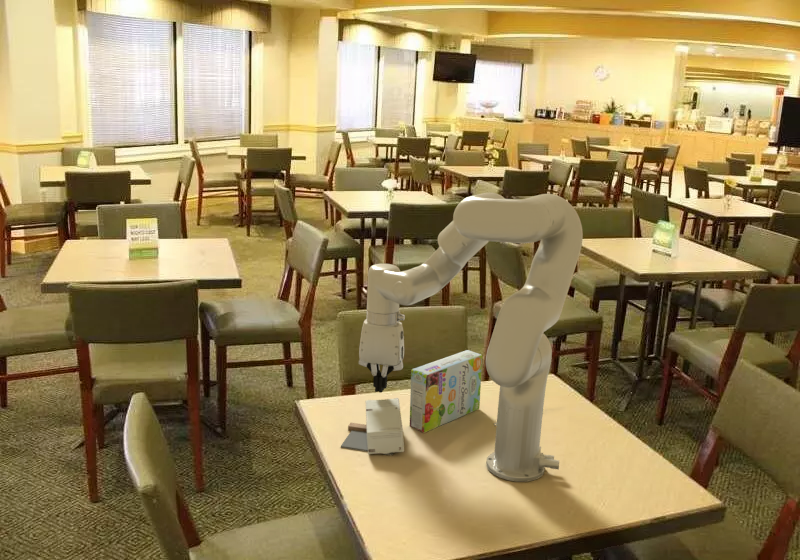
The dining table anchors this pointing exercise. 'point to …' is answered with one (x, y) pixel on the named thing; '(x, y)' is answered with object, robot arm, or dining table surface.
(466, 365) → the snack box
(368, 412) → the skincare box
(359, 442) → the mat
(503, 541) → the dining table surface
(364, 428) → the rail
